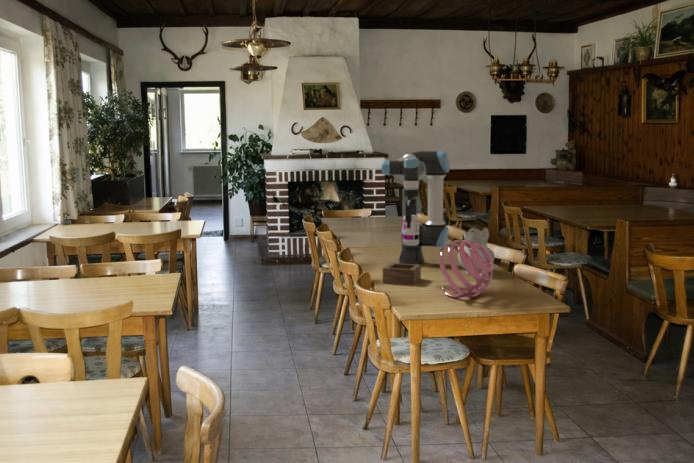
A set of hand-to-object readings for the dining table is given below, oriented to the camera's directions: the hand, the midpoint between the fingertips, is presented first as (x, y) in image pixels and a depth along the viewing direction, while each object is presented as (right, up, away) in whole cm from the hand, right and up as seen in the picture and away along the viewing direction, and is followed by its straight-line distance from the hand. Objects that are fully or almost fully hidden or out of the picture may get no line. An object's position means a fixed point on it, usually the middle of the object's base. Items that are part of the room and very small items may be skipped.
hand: (411, 233), depth 388 cm
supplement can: (0, -6, +1) cm, 6 cm away
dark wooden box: (-4, -25, +6) cm, 25 cm away
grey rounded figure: (+37, -22, +24) cm, 49 cm away
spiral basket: (+23, -30, -31) cm, 48 cm away
